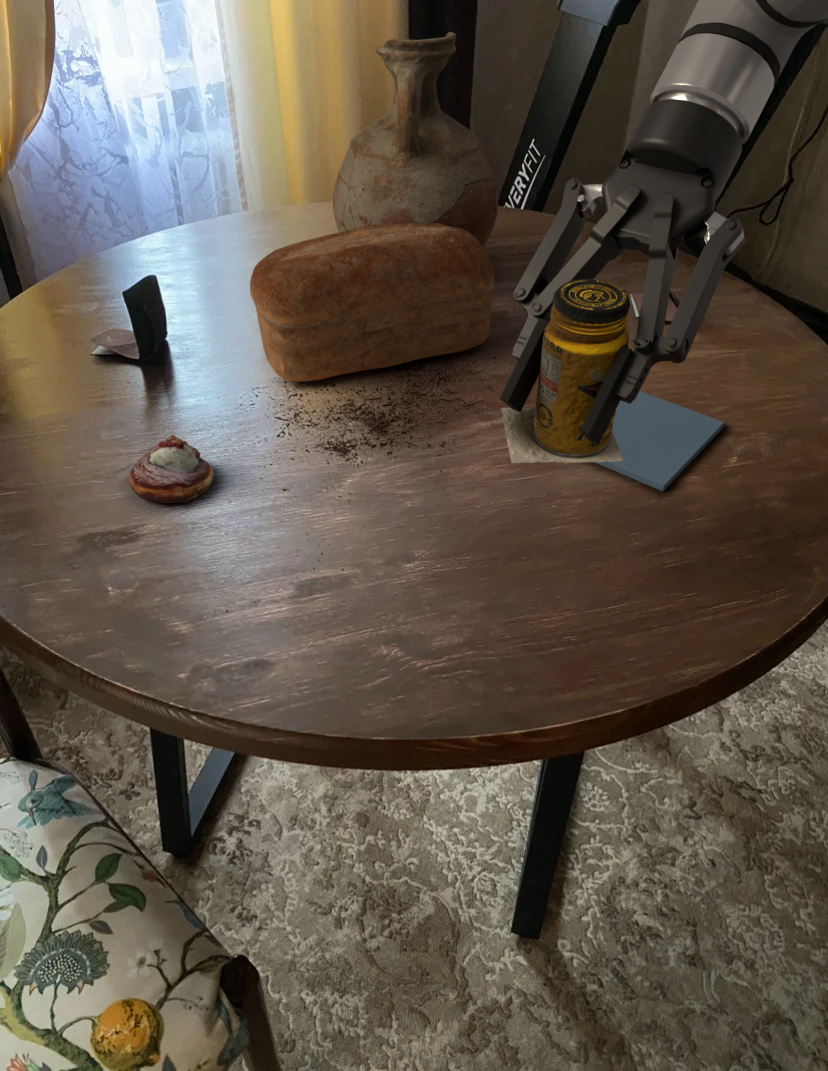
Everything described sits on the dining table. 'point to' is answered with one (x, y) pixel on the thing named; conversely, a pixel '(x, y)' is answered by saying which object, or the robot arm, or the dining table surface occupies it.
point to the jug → (416, 155)
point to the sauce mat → (658, 439)
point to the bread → (372, 299)
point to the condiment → (572, 376)
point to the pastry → (171, 473)
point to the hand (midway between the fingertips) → (548, 420)
